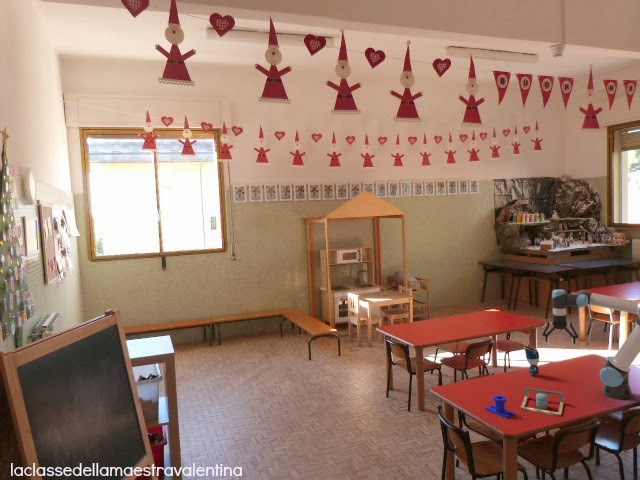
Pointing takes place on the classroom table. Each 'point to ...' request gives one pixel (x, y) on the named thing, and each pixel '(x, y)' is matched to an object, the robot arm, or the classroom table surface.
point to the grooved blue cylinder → (541, 401)
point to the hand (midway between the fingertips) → (560, 347)
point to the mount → (500, 407)
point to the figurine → (532, 360)
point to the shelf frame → (541, 410)
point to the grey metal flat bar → (545, 392)
